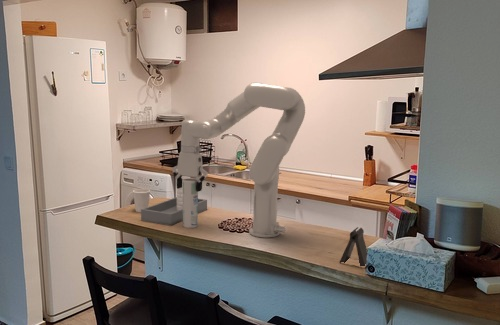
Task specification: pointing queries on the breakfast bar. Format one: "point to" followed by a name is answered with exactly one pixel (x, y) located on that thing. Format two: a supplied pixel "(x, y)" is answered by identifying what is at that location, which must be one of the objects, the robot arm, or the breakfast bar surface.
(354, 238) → the phone stand
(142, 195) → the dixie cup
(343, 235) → the breakfast bar surface
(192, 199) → the spray can
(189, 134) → the robot arm
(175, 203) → the tray
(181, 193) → the water bottle
